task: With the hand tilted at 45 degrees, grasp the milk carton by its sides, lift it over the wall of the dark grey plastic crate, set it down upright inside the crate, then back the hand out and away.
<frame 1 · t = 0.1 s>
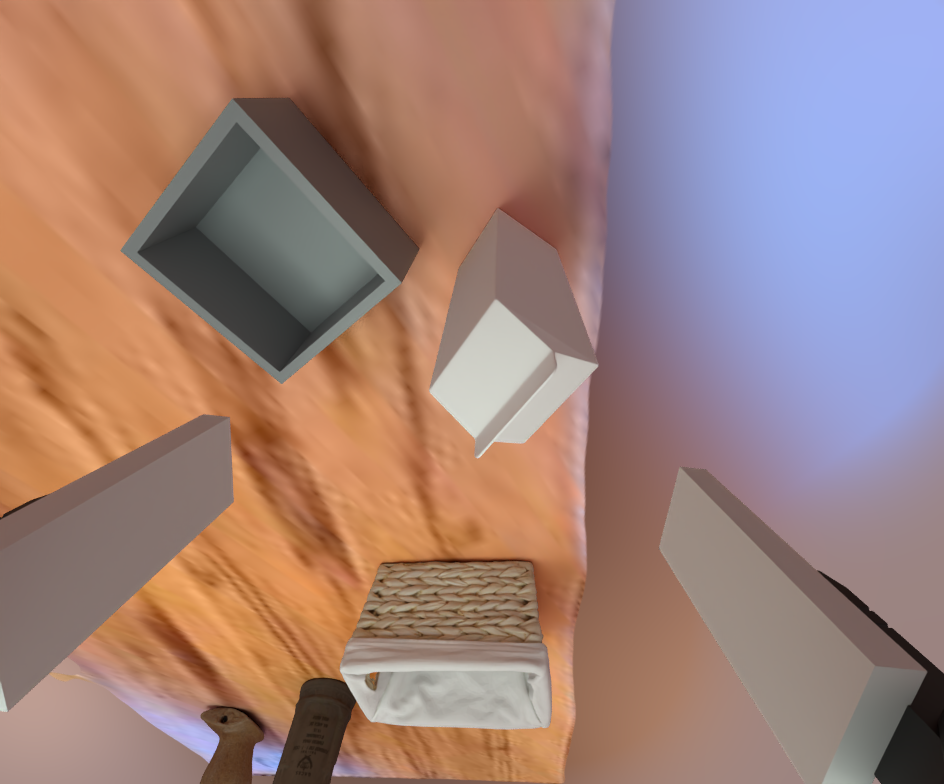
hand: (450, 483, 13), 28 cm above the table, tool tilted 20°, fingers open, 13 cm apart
milk: (506, 258, 37), on the table
storage basket: (459, 585, 64), on the table
stone cup: (244, 718, 96), on the table
crate: (304, 235, 37), on the table
beer stein: (331, 692, 86), on the table
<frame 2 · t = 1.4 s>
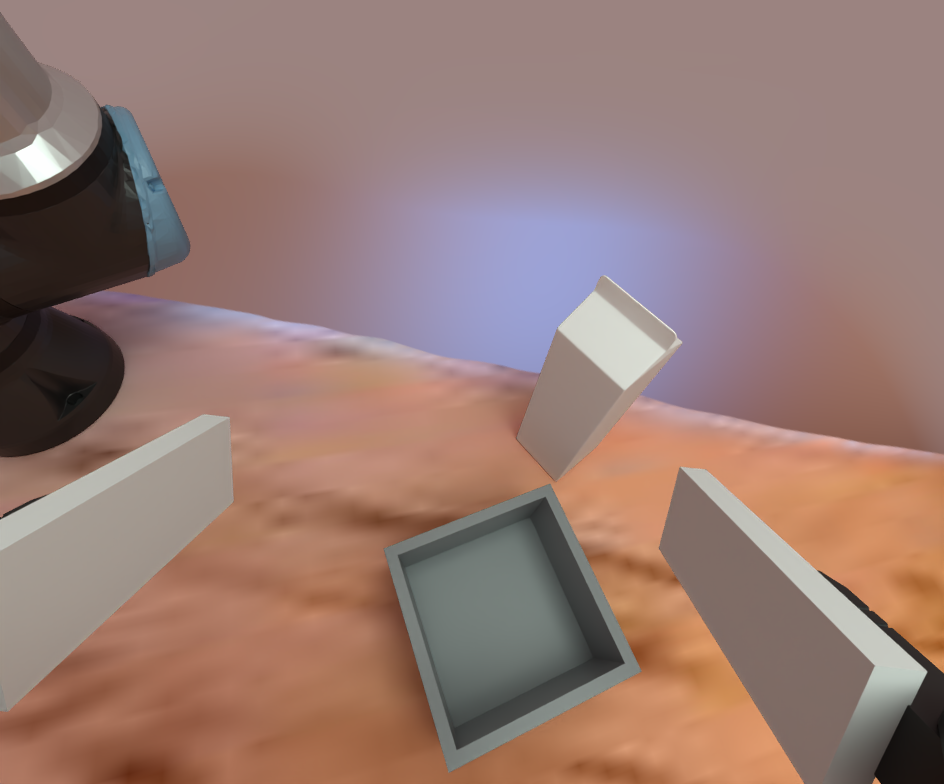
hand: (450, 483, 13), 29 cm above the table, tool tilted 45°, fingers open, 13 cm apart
milk: (555, 443, 46), on the table
crate: (494, 611, 38), on the table
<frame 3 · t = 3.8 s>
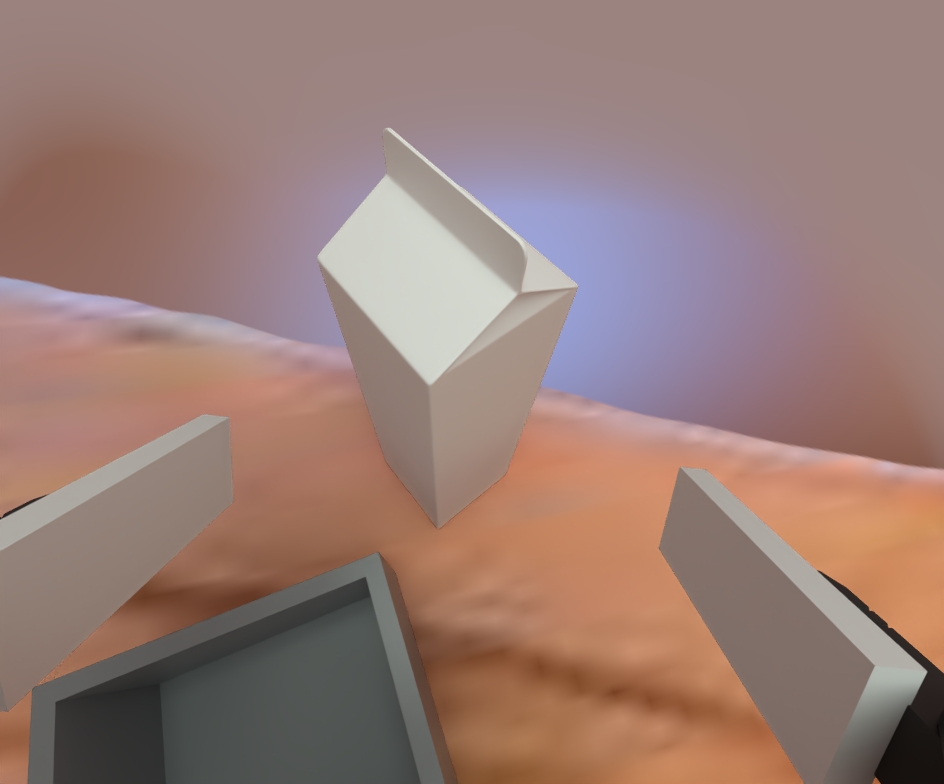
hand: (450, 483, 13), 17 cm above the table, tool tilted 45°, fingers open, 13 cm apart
milk: (445, 468, 30), on the table
crate: (306, 758, 22), on the table
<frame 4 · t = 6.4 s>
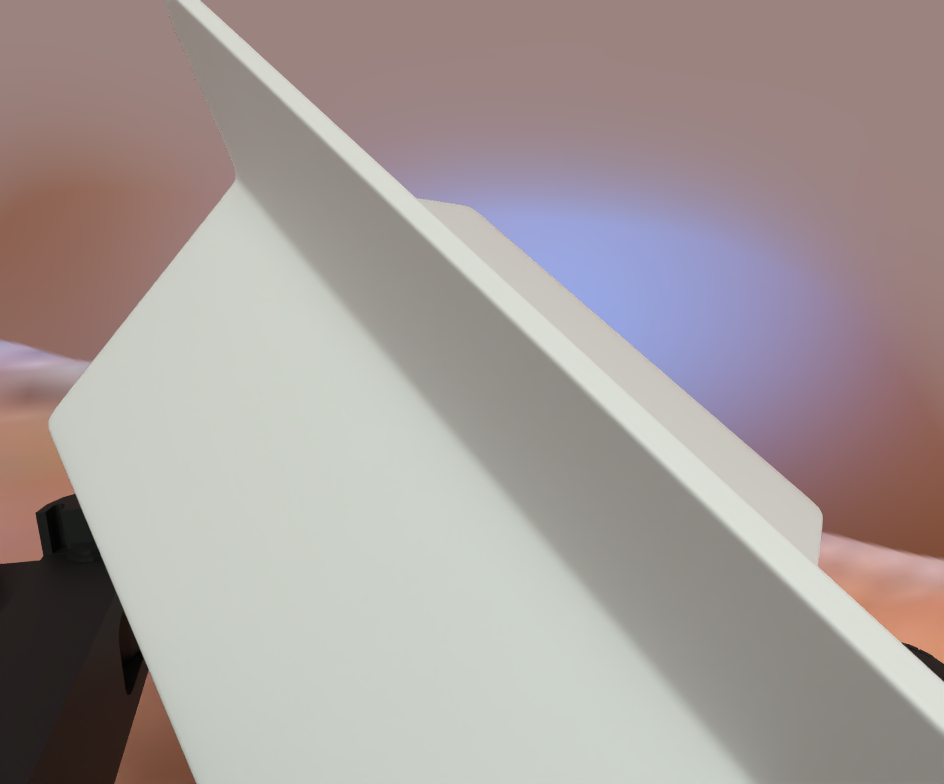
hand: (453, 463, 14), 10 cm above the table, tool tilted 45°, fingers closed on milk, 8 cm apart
milk: (442, 598, 21), on the table, touching gripper
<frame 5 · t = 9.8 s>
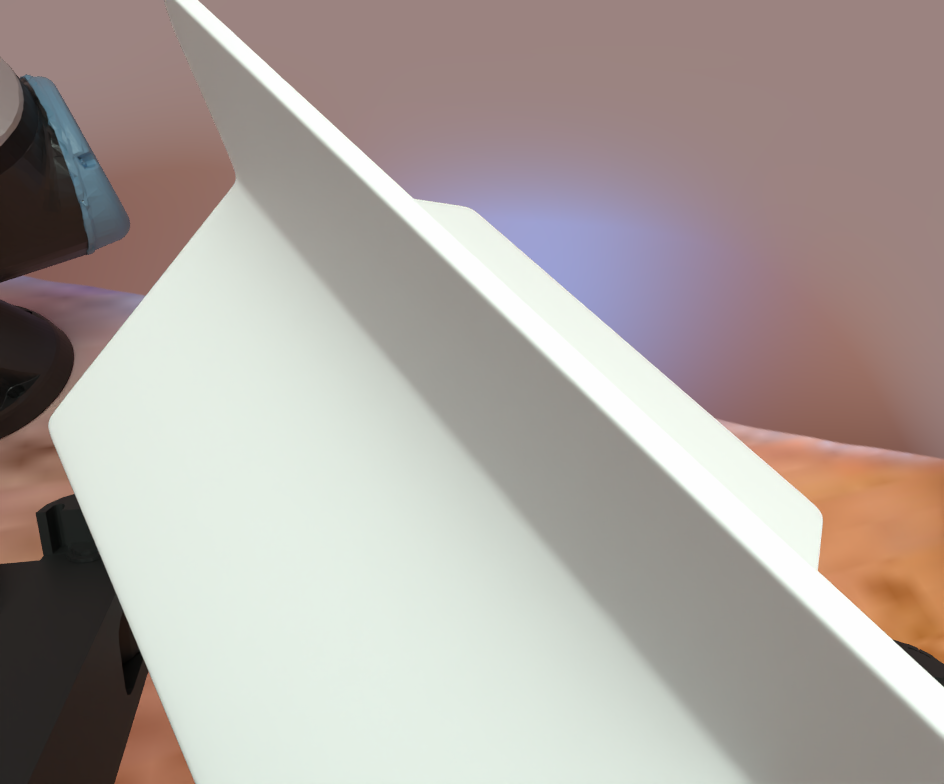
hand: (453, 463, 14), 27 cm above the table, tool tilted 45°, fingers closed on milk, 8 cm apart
milk: (442, 599, 21), point 17 cm above the table, touching gripper
when the fingers open (12 cm above the table, at t = 13.7 s): milk drops 1 cm, resting on crate.
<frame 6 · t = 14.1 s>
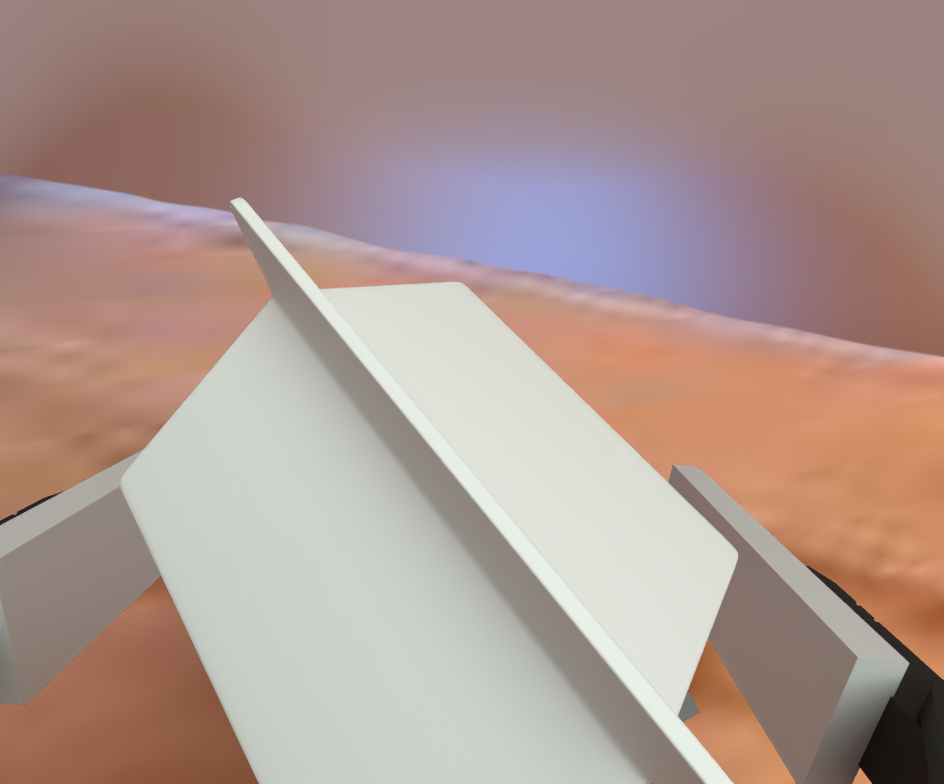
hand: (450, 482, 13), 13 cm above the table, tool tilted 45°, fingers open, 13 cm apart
milk: (441, 602, 22), point 1 cm above the table, touching crate
crate: (442, 602, 23), on the table
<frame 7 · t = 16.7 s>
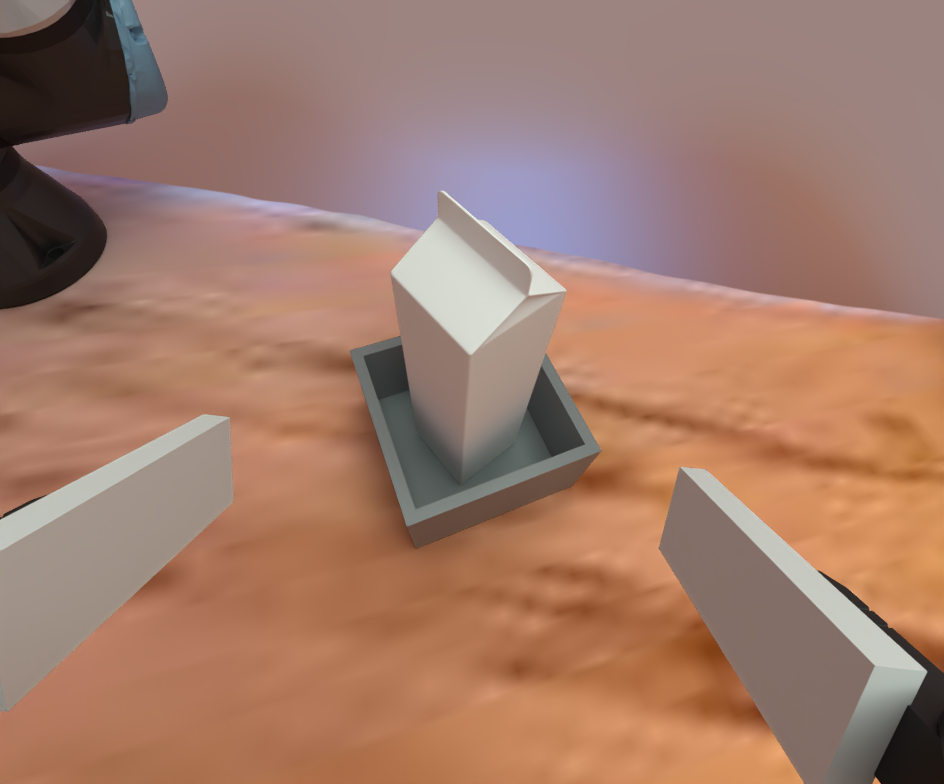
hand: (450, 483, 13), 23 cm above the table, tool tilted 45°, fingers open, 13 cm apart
milk: (465, 438, 37), point 1 cm above the table, touching crate
crate: (465, 441, 38), on the table
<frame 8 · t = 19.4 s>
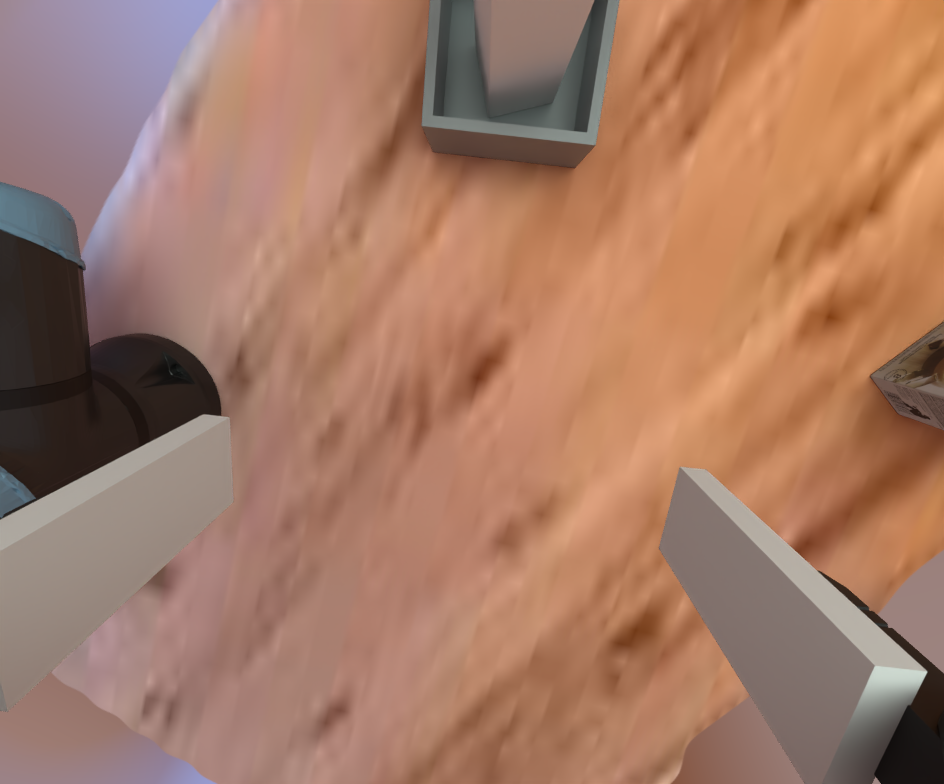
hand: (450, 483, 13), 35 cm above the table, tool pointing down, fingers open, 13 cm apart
milk: (514, 74, 39), point 1 cm above the table, touching crate
crate: (513, 77, 40), on the table
coffee box: (920, 367, 46), on the table
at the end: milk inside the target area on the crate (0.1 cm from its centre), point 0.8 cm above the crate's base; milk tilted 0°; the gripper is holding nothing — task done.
